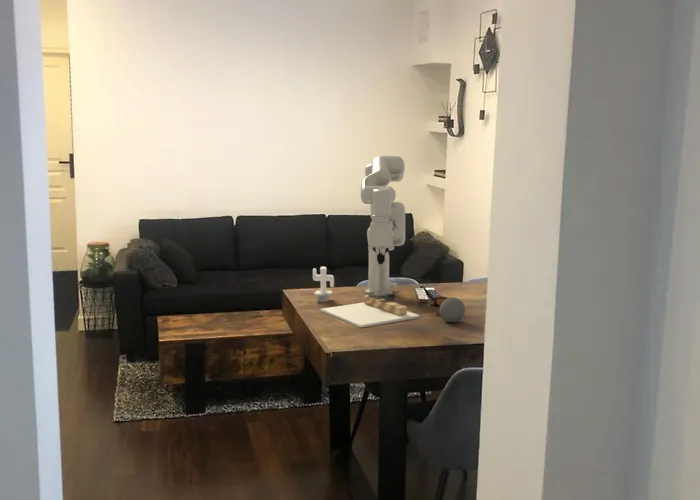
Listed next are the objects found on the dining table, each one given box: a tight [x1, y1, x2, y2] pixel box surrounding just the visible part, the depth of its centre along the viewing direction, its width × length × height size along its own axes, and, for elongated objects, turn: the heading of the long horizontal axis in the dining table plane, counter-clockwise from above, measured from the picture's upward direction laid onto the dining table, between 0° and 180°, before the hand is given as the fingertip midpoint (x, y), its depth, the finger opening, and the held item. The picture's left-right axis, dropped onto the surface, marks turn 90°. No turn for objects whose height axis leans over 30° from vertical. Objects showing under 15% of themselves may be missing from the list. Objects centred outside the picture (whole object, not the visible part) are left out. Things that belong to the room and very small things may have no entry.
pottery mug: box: [429, 296, 449, 317], centre depth 315 cm, size 12×10×8 cm
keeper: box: [373, 291, 395, 303], centre depth 320 cm, size 9×3×6 cm, turn 123°
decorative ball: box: [439, 296, 466, 323], centre depth 301 cm, size 10×10×10 cm
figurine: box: [312, 266, 335, 303], centre depth 335 cm, size 7×9×15 cm
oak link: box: [364, 291, 408, 315], centre depth 318 cm, size 25×6×5 cm, turn 34°
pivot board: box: [320, 301, 420, 329], centre depth 313 cm, size 29×30×1 cm
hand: (380, 263), depth 310 cm, fingers closed
